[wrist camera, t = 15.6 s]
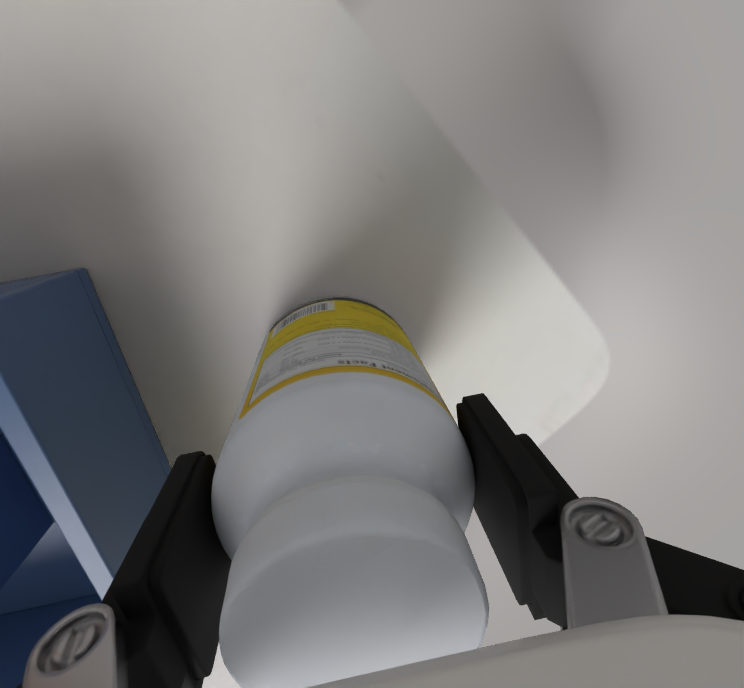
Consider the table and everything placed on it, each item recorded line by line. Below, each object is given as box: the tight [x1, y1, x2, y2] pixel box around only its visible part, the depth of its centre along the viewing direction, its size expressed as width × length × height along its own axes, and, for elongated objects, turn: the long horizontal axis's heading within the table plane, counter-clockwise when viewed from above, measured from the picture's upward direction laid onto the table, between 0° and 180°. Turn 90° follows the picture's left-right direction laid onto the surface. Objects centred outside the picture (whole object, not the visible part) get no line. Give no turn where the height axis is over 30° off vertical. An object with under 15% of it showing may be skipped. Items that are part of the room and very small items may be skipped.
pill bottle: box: [211, 296, 489, 688], centre depth 13 cm, size 6×6×12 cm
